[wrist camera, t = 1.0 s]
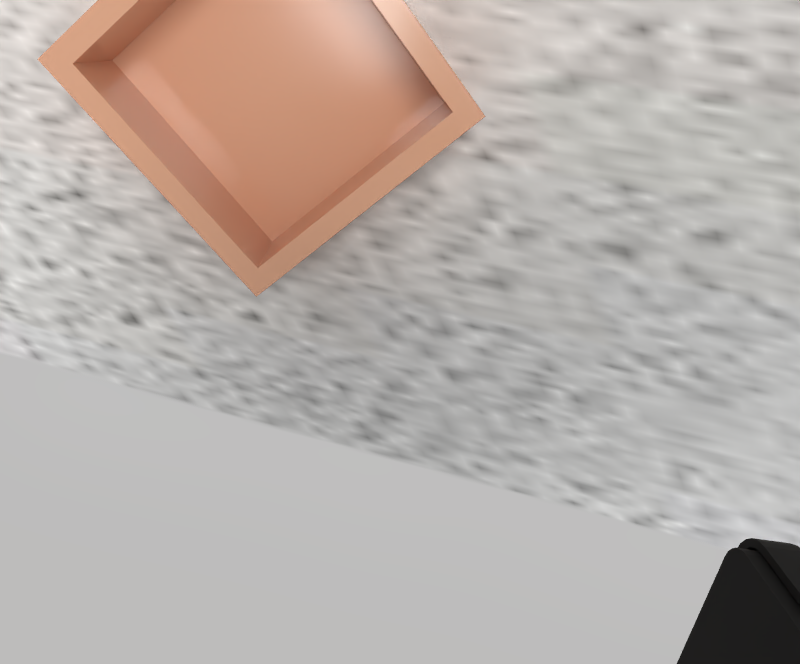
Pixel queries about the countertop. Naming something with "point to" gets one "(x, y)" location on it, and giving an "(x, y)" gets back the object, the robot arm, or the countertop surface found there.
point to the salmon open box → (265, 112)
